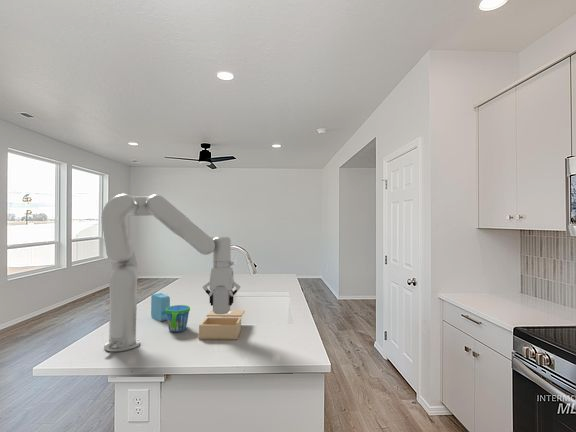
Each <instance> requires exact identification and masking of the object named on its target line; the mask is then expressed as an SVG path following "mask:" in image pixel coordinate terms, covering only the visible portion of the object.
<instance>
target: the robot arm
mask: <svg viewBox="0 0 576 432" xmlns="http://www.w3.org/2000/svg"><path fill="white" fill-rule="evenodd" d="M104 205H105V206H104V207H103V209H102V212H101V217H100V218H101V228H102V234H103V239H104V245H105V246H104V247H105V253H106V257H107V258H108V260H110V263H111V268H112V272H111V274H110V276H109V283H108V284H109V287H108V288H109V322H108V323H109V327H108V330H109V331H108V341H107V342H106V343H105V344H104V346H103V349H104V350H105V351H106V352H107V351H108V352H110V353H111V352H112V353H114V352H117V353H118V352H124V351H129V350H132V349H135V348H137V347H139V346H140V344H141V340H140V339H139V338H137V305H138V304H137V303H138V301H137V298H138V292H137V291H138V289H137V287H138V279H139V278H138V277H139V268H138V262H137V256H136V252H135V247H134V244H133V242H132V241H131V240H130V238H129V232H128V226H127V222H126V221H127V217H139V216H140V217H144V216H145V217H147V216H148V217H149V216H153V217H154V219H156V220H158V221H159V222H160V223H161V224H162V225H164V226H165V227H166V228H168V230H170V231H171V232H172V233H173V234H175V235H177V236H178V237H180V238H182V239H183V240H184V241H185V242H186V243H188V244H189V245H190V246H191V247H192V248H194V249H195V250H196V251H197V252H198V253H200V254H201V255H204V256H207V255H210V254H212V253H213V254H212V258H213V259H212V262H213V263H212V267H211V270H210V274H209V275H210V276H209V281H208V282H207V283H205V284H204V285H203V286H202V289H203V290H204V291H205V293H206V294H207V295H208V297H209V304H210V307H213V290H214V289H215V288H216V286H218V287H224V286H225V288H226V289H228V291H229V294H230V297H229V305H230V307H232V305H233V304H234V296H235V295H236V294H237V293H238V291H239V290H240V289H241V286H240V285H239V284H238V283H237V282H235V281H234V280H235V277H234V269H233V267H231V266H234V265H235V262H234V261H232V260H231V258H232V257H231V253H232V252H231V249H232V246H231V244H232V243H231V241H232V240H231V238H230V237H229V236H215V237H214V236H209V235H208V233H206V232H205V231H204V230H202V229H201V228H200V227H199V226H198V225H197V224H196V223H194V222H193V221H192V220H191V219H190V218H189V217H187V215H185V214H184V213H182V212H181V210H179V209H178V208H177V207H176V206H175V205H173V204H172V203H171V202H170V201H169V200H167V198H165V197H164V196H162V195H160V194H158V193H157V194H151V195H150V196H143V195H142V196H139V195H138V196H136V195H135V196H134V195H132V194H131V195H130V194H127V193H121V194H117V195H115V196H114V197H112V198H111V199H110V200H108V201H107V203H106V204H104ZM208 287H209V288H208ZM234 288H235V289H234ZM233 289H234V290H233Z"/></svg>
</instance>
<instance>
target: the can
mask: <svg viewBox="0 0 576 432" xmlns="http://www.w3.org/2000/svg"><path fill="white" fill-rule="evenodd" d="M229 297H230V294H229V291H228V289H226V288H225V286H224V287H218V286H216V288H215V289H214V290H213V305H212V310H213V312H214V313H215V314H226V313H228V312H229V311H230V310H231V306H230V305H229Z"/></svg>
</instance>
